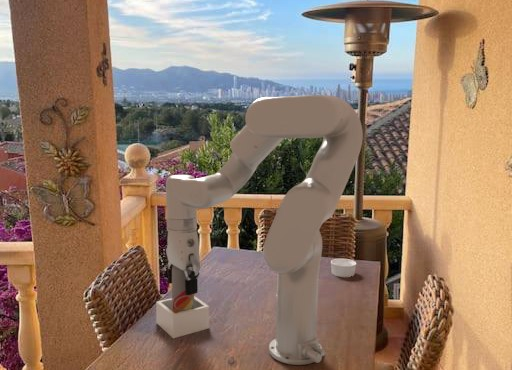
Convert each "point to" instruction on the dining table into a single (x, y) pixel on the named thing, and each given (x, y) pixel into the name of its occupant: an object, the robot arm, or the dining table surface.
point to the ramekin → (343, 267)
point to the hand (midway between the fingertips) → (182, 287)
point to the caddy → (182, 318)
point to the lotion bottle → (180, 292)
